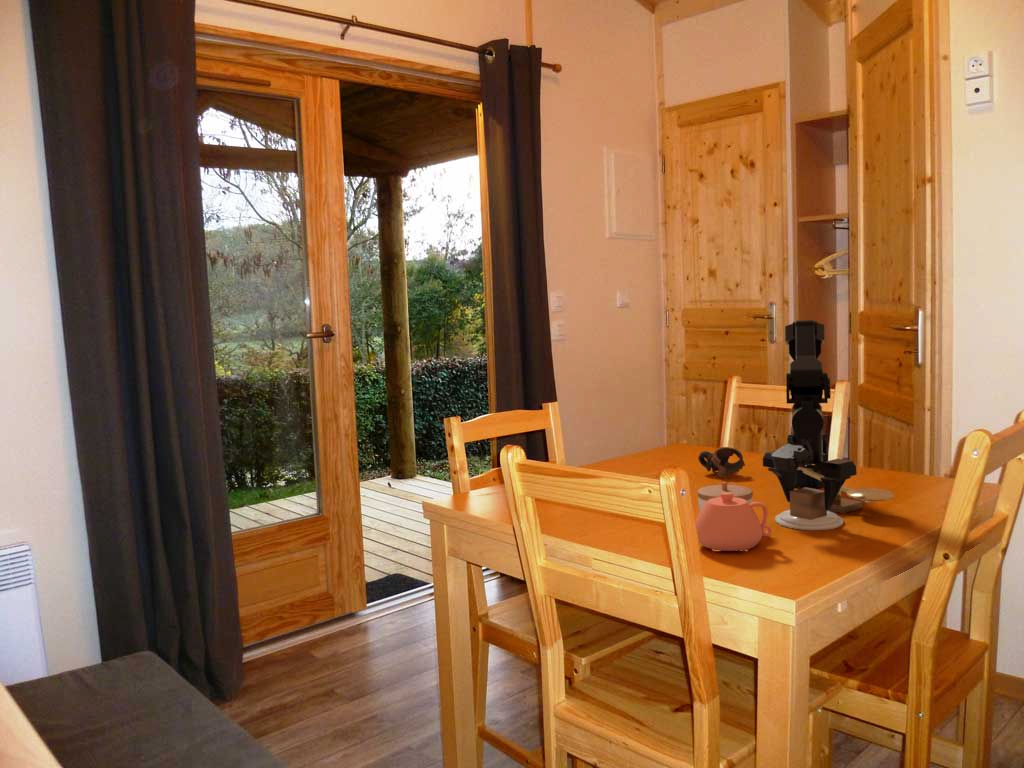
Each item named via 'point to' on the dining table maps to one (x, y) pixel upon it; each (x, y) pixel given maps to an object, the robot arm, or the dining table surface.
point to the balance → (852, 495)
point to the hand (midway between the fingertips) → (808, 505)
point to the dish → (809, 521)
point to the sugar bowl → (730, 523)
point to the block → (807, 503)
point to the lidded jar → (715, 491)
